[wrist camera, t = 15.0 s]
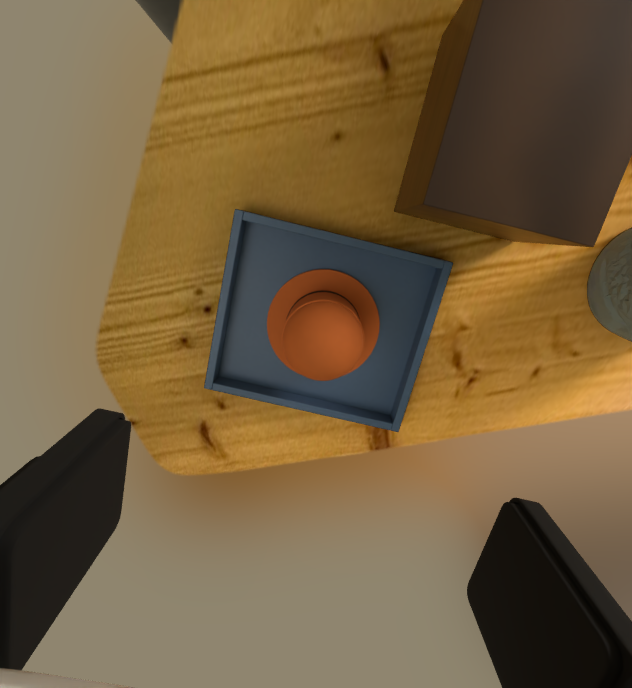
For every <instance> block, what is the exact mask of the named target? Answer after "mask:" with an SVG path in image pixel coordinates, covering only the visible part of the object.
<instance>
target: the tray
mask: <svg viewBox="0 0 632 688" xmlns="http://www.w3.org/2000/svg"><path fill="white" fill-rule="evenodd" d="M452 265H453V262H449V261H445V260H441V259H437V258H433V257H429V256H425V255H421V254H417V253H413V252H409V251H405V250H401V249H397V248H393V247H389V246H384V245H380V244H376V243H372V242H368V241H364V240H360V239H356V238H352V237H348V236H344V235H340V234H336V233H332V232H328V231H324V230H319V229H315V228H311V227H307V226H303V225H299V224H295V223H291V222H287V221H283V220H279V219H275V218H271V217H267V216H263V215H259V214H255V213H250V212H246V211H242V210H238V209H235V212H234V218H233V224H232V229H231V235H230V241H229V247H228V253H227V258H226V264H225V270H224V276H223V281H222V287H221V293H220V299H219V305H218V310H217V316H216V322H215V328H214V333H213V339H212V345H211V351H210V357H209V362H208V368H207V374H206V380H205V385H204V388H206V389H210V390H215V391H219V392H224V393H228V394H232V395H237V396H241V397H246V398H250V399H255V400H259V401H263V402H268V403H272V404H277V405H281V406H285V407H290V408H294V409H299V410H303V411H308V412H312V413H316V414H321V415H325V416H330V417H334V418H338V419H343V420H347V421H352V422H356V423H361V424H365V425H369V426H374V427H378V428H383V429H387V430H391V431H395V432H399V429H400V426H401V422H402V419H403V416H404V413H405V410H406V407H407V404H408V401H409V398H410V395H411V392H412V389H413V385H414V382H415V379H416V376H417V373H418V370H419V367H420V364H421V361H422V358H423V355H424V352H425V348H426V345H427V342H428V339H429V336H430V333H431V330H432V327H433V324H434V321H435V318H436V315H437V312H438V308H439V305H440V302H441V299H442V296H443V293H444V290H445V287H446V284H447V281H448V278H449V275H450V271H451V268H452ZM316 269H331V270H336V271H340V272H343V273H345V274H348V275H350V276H352V277H353V278H355V279H356V280H358V281H359V282H360V283H361V284H362V285H363V286H364V287H365V288H366V289H367V290H368V292H369V293H370V294H371V296H372V298H373V300H374V302H375V304H376V306H377V309H378V314H379V322H380V327H379V335H378V339H377V342H376V345H375V347H374V349H373V351H372V353H371V354H370V356H369V357H368V358H367V360H366V361H365V362H364V363H363V364H362V365H360V366H359V367H358V368H357V369H355V370H354V371H352V372H350V373H348V374H346V375H344V376H341V377H339V378H336V379H333V380H329V381H318V380H313V379H309V378H307V377H305V376H303V375H300V374H298V373H296V372H294V371H293V370H291V369H290V368H288V367H287V366H286V365H285V364H284V363H283V362H282V361H281V360H280V359H279V358H278V356H277V355H276V354H275V352H274V350H273V348H272V346H271V344H270V341H269V337H268V332H267V317H268V311H269V308H270V305H271V303H272V300H273V299H274V297H275V295H276V294H277V292H278V291H279V290H280V288H281V287H282V286H283V285H284V284H285V283H286V282H288V281H289V280H290V279H292V278H293V277H295V276H297V275H299V274H301V273H304V272H306V271H311V270H316Z"/></svg>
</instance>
